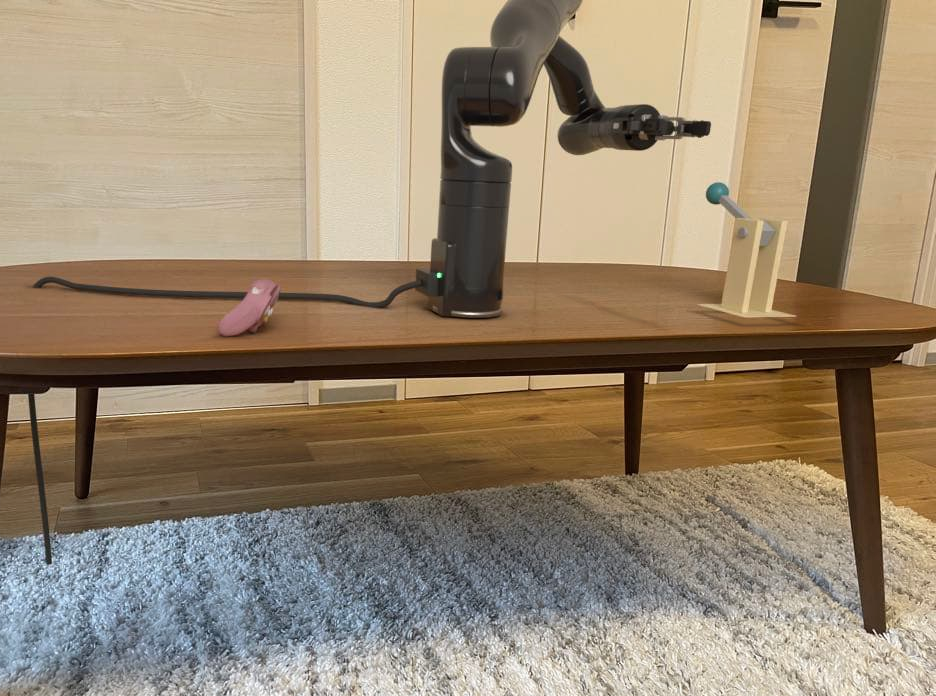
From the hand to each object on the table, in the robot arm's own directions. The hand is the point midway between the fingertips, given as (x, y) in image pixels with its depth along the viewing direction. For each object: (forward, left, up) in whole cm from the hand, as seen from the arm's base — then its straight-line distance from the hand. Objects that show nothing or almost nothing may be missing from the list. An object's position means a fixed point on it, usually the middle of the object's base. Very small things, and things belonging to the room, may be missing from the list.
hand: (685, 127), depth 122 cm
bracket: (0, -20, -26) cm, 33 cm away
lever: (0, -14, -13) cm, 20 cm away
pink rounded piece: (-70, -21, -27) cm, 78 cm away
